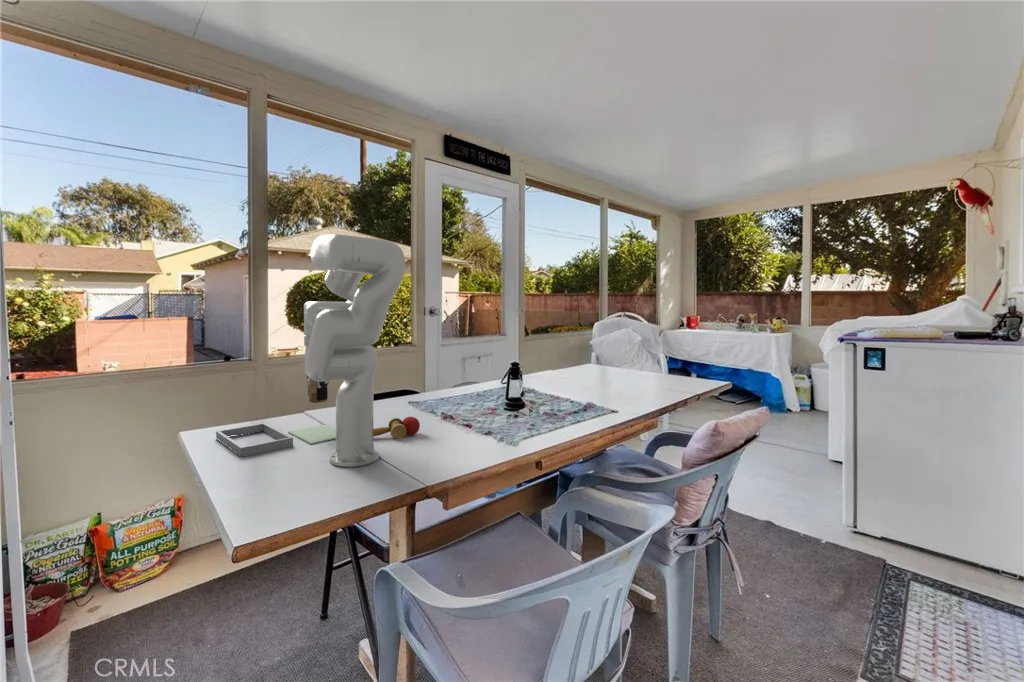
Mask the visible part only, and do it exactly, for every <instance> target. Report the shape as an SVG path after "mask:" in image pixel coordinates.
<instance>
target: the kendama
mask: <svg viewBox="0 0 1024 682" xmlns="http://www.w3.org/2000/svg"><path fill="white" fill-rule="evenodd" d="M420 423H421V422H420V420H418V419H417V418H416V417H414V416H408V417H407V416H406V417H405V418H404V419H403V420H402V419H400V418H398V417H393V418H391V419H390V420H389V422H388V426H384V427H375V428H374V427H373V438H374V437H377V436H382V435H384V434H387V433H390V436H392V438H393V439H395V438H401V439H403V438H404V437H405V436H413V435H416V434H417V433H418V432H419V431H420V427H421V426H420V425H421V424H420Z"/></svg>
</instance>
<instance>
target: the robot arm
mask: <svg viewBox="0 0 1024 682" xmlns="http://www.w3.org/2000/svg"><path fill="white" fill-rule="evenodd" d="M310 259H311V262H312V265H313V266H314V267H315V268H316V269H318V270H322V271H327V272H326V274H325V276H324V283H325V286H326V288H327V289H328V290H329V291H330V292H331V293H332V294H334V295H336V296H338V297H340V298H342V299H345V300H346V301H330V300H329V301H325V300H323V301H320V300H319V301H314V300H313V301H306V302H305V303H304V304H303V333H304V334H303V335H304V336H303V346H304V347H305V350H304V373H305V376H306V379H307V397H308V398H309V379H310V378H311V379H312V380H314V381H317V384H318V388H317V401H321V400H328V392H329V391H328V388H329V383H330V382H334V381H342V383H341V384H340V386H339V388H338V389H337V392H336V395H335V429H336V439H335V452H333V453H332V454H330V456H329V462H330V463H331V464H332V465H334V466H337V467H342V468H355V467H361V466H362V467H363V466H367V465H370V464H373V463H374V462H376V461H378V460H379V458H380V451H378V450H377V449H375V444H374V437H373V429H374V389H375V388H374V387H375V378H376V377H375V376H376V371H377V367H378V366H377V365H378V353H377V351H376V349H375V347H373V346H372V345H374V344H376V343H377V341H378V340H379V338H380V336H381V333H382V330H383V327H384V324H385V321H386V317H387V314H388V311H389V308H390V305H391V303H392V300H393V298H394V296H395V295H396V293H397V292H398V290H399V288H400V286H401V284H402V281H403V279H404V274H405V269H406V257H405V254H404V251H403V249H402V248H401V247H400V245H398V244H396V243H394V242H393V241H389V240H384V239H380V238H374V237H373V238H372V237H363V236H355V235H349V234H347V235H346V234H338V233H337V234H335V233H334V234H321V235H319V236H318V237H317V238H315V240H314V241H313V244H312V246H311V249H310ZM365 274H369V275H371V277H370V278H369V279H367V280H365V281H364V282H363V283H362V284H361V285H360V287H358V286H359V284H360V283H361V280H362V278H363V276H364V275H365Z"/></svg>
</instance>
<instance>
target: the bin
mask: <svg viewBox="0 0 1024 682" xmlns="http://www.w3.org/2000/svg"><path fill="white" fill-rule="evenodd" d="M261 431H264V433H265V434H267V435H269V436H270V437H271V438H272V437H273V438H274V439H275V440H270V441H265V442H260V443H256V444H251V445H245V446H243V445H242V444H240V443H238V442H237V441H236V440H234V439H232V437H230V438H229V437H228V436H231V435H241V434H247V435H249V434H248V433H252V434H256V433H255V432H258V433H262V432H261ZM241 436H242V435H241ZM215 437H216V438H217V439H219V440H220V441H221V442H223V443H224V444H226V445H227V446H228V447H230V448H231V449H232V450H233V451H235V452H236V453H237V454H238V455H237V454H236V453H235V454H236V455H237V456H239V455H240V456H244V457H247V456H246V455H249V456H252V455H251V454H253V455H257V454H256V453H258V454H262V453H261V452H263V453H267V452H271V450H272V451H275V450H276V449H277V450H280V449H285V447H286V448H291V447H294V437H292V435H290V434H287V433H285V432H283V431H281V430H279V429H277V428H275V427H274V426H272V425H270V424H267V423H266V422H263V423H262V422H261V423H256V424H251V425H250V424H249V425H245V426H238V427H233V428H225V429H221V430H216V431H215ZM216 438H215V439H216ZM217 439H216V440H217ZM221 442H220V443H221ZM290 446H291V447H290ZM228 447H227V448H228ZM232 450H231V451H232ZM233 451H232V452H233ZM240 456H239V457H240Z"/></svg>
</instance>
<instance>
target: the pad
mask: <svg viewBox="0 0 1024 682" xmlns="http://www.w3.org/2000/svg"><path fill="white" fill-rule="evenodd" d="M287 433H288V435H290V436H294V437H295V438H297V439H299V440H301V441H303V442H304V443H307V444H309V445H314V444H316V445H317V444H319V443H325V442H328V440H330V441H333V440H332V439H334V440H336V428H334V427H332V426H330V425H327V424H322V425H316V426H310V427H306V428H298V429H294V430H288V432H287ZM324 441H325V442H324Z"/></svg>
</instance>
